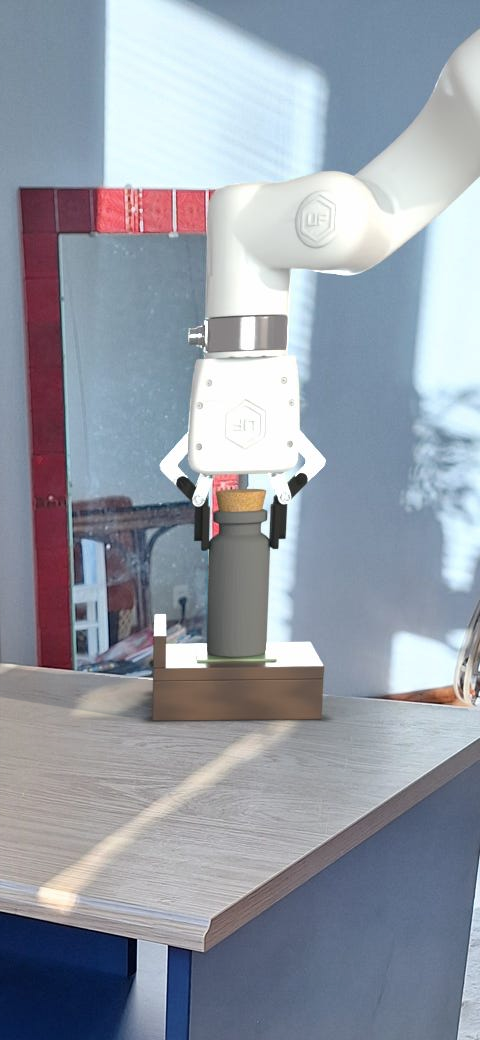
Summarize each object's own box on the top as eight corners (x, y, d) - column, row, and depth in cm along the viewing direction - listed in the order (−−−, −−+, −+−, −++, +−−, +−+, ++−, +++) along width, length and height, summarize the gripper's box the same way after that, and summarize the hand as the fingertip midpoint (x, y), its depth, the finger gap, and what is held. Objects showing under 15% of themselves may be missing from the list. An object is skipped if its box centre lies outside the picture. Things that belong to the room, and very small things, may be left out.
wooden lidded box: (308, 690, 152) (312, 611, 149) (321, 719, 140) (326, 633, 136) (153, 692, 154) (154, 614, 151) (152, 721, 141) (153, 636, 138)
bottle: (277, 653, 143) (284, 490, 137) (224, 659, 141) (229, 493, 135) (246, 645, 148) (252, 487, 142) (195, 651, 146) (198, 490, 140)
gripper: (150, 343, 131) (148, 555, 138) (347, 335, 129) (334, 550, 136) (151, 345, 138) (149, 546, 145) (338, 338, 136) (326, 542, 143)
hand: (239, 546), depth 141 cm, fingers closed on bottle, 5 cm apart
